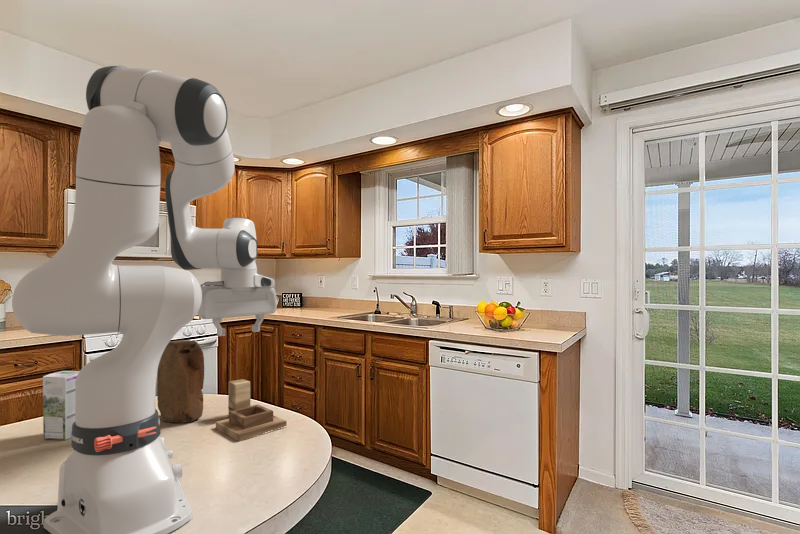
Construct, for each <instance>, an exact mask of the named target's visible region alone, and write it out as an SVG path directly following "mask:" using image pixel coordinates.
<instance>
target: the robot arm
mask: <svg viewBox="0 0 800 534" xmlns="http://www.w3.org/2000/svg"><path fill="white" fill-rule="evenodd" d="M85 100H86V106H87V109H88V111H87V113H86V114H85V116H84V118H83V121H82V125H81V129H80V134H79V139H78V146H77V152H76V163H75V198H74V199H75V200H74V212H73V220H72V225H71V229H70V231H69V234H68V236H67V238H66V239H65V242H64V243H63V244H62V246H61V247H60V248H59V249H58V251H56V252H55V254H54V255H53V256H52V257H50V258H49V259H48V260H46V262H44V263H42V264H41V265H39V266H37V267H35V268H33V269H32V270H31V271H29V272H27V273H26V274H25V275H24V276H23V277H22V278H21V279H20V280H19V281H18V283H17V285H16V286H15V287H14V290H13V293H12V299H11V308H12V311H13V315H14V317H15V319H16V320H17V321H18V323H19V324H20V325H21V326H22V327H23V328H24V329H25V330H26V331H28V332H30V333H31V334H40V335H50V336H51V335H52V336H61V337H62V336H63V337H64V336H65V337H72V336H74V337H75V336H82V335H84V336H85V335H96V334H97V335H98V334H112V333H119V334H122V337H121V340H120V341H119V344H118V345H116V347H114V348H113V349H112V350H109V351H107V352H105V353H104V354H101V355H100V356H97V357H95V358H94V359H92V360H91V361H89V362H88V363H86V364H85V365H84V366H83V367H82V368H81V369H80V370H79V371H80V372H79V373H78V375H77V377H76V381H75V422H74V423H73V425H72V432H71V438H70V439H71V448H72V451H71V453H70V454H69V455H68V457H67V458H66V459H65V460H64V461H63V462H62V463H61V464H60V466H59V472H58V473H59V474H58V492H57V496H58V497H57V510H55V511H53V512H52V513H51V514H48V516H46V517H45V518H44V519H43V526H42V527H43V529H45V530H46V531H47V532H49V533H50V534H170V533H171V532H174V531H176V530H177V529H179V528H181V527H182V526H184V525H185V524H187V522H189V521H190V520H191V519H192V518H193V511H192V507H191V505H190V503H189V500H188V499H187V496H186V493H185V492H184V489H183V487H182V485H181V482H180V480H179V479H181V478H182V477H183V466H182V463H180V462H178V463H175V464H171V462H170V459H172V458H173V450H172V449H170V450H169V449H168V450H167V448H166V445H165V438H164V437H162V436H160V435H161V433H162V432H161V420H160V419H161V418H160V417H159V410H158V409H156V396H157V395H156V393H157V391H156V390H157V377H158V366H159V362H160V359H161V356H162V354H163V352H164V350H165V348H166V346H167V345H168V343H169V342H170V341H172V339H173V338H174V337H175V336H176V335H177V334H178V332H180V331H181V330H182V328H184V327H185V326H186V325H188V324H189V323H190V322H192V321H193V320H194V318H195V317H196V316H198V317H199V318H200V319H201V320H212V324H213V325H214V327H215V329H216V335H217V337H224V336H226V333H227V332H226V331H227V329H226V328H224V327H222V325H221V323H222V319H224V318H225V319H227V318H237V317H239V318H240V317H249V316H255V319H256V321H255V323H254V324H252V325H251V332H253V333H256V332H257V333H258V332H259V333H260V331H261V325H262V323H263V321H264V320H265V315H273V314H275V312H277V309H278V308H277V307H278V304H277V303H278V302H277V301H278V300H277V291H276V289H275V288H273V287H275V280H274V278H272V277H271V278H270V277H267V276H265V275H262V274H258V267H257V266H258V265H257V264H256V263H257V262H256V259H257V258H258V240H257V231H256V226H255V223H254V221H252V220H251V219H249V218H246V217H242V216H241V217H239V216H238V217H237V216H233V217H228V218H225V220H224V221H223V224H222V228H201V227H197V226H196V225H194V224H193V221H192V212H191V202H193V201H195V200H198V199H200V198H204V197H206V196H207V197H208V196H210V195H213V194H215V193H218V192H219V191H221V190H222V189H224V188H225V187H226V186H227V185H229V183H230V182H231V181H232V178H233V176H234V174H235V157H234V152H233V148H232V147H233V146H232V144H231V139H230V136H229V132H228V129H227V125H228V119H229V118H228V116H229V115H228V107H227V104H226V101H225V98H224V97H223V96H222V94H221V93H220V91H219V90H218V89H217V88H216V87H215V85H213V84H211V83H208V82H207V81H204V80H201V79H199V78H193V77H192V78H188V77H185V76H180V75H176V74H173V73H168V72H163V71H161V70H160V69H159V70H157V69H151V68H144V67H143V68H141V67H126V66H123V65H111V66H110V65H109V66H103V67H100V68H97V69H96V70H94V72H93V73H92V74H91V76H90V78H89V80H88V82H87V85H86V89H85ZM161 142H165V143H169V145H170V148H171V151H172V152H171V153H172V154H173V159H174V168H173V169H172V170H170V171H169V172H168V173H167V174H166V178H165V184H164V195H165V204H166V212H167V220H168V225H169V235H170V254H171V258H172V261H173V262H174V263H175V264H176V265H177V266H178V268H177V267H170V266H165V265H117V264H113V262H114V260H115V259H116V257H117V256H118V255H120V254H121V253H122V252H124V251H126V250H128V249H131V248H133V247H136V246H138V245H139V246H140V245H141V244H143V243H145V242H146V241H148V240H150V239H151V238H152V237H153V236H154V235H155V234H156V233H157V231H158V229H159V222H160V201H161V181H162V180H161V179H162V177H161V176H162V174H161V155H160V147H159V146H160V144H161ZM201 269H215V270H217V269H220V280H214V281H204V282H203V283H202V284H200V282H199V279H197V277H196V276H195V275H194V273H192V272H191V271H194V270H201ZM190 270H191V271H190Z"/></svg>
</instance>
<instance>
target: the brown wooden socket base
mask: <svg viewBox="0 0 800 534" xmlns="http://www.w3.org/2000/svg"><path fill="white" fill-rule="evenodd" d="M287 425H288V424H287V420H285V419H283V418H281V417H278V416H275V415H274V410H272V409H270V408H269V407H266V406H264V405H263V406H262V405H260V404H253V405H250V406H249V407H245V408H241V409H237V410H233V411H228V418H225V419H222V420H218V421H215V429H217V430H218V431H220V432H222V433H223V432H224V434H225V433H226V434H225V435H227V436H229V437H231V438H232V437H233V439H234V440H236V441H238V442H243V441H245V439H246V440H249V439H252V438H255V437H254V436H256V437H258V436H257V435H259V436H261V435H260V434H262V435H264V434H263V433H265V432H268V431H271V430H275V429H278V428H281V427H284V426H287ZM251 437H252V438H251ZM248 438H249V439H248ZM242 440H243V441H242Z"/></svg>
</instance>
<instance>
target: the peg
mask: <svg viewBox="0 0 800 534" xmlns="http://www.w3.org/2000/svg"><path fill="white" fill-rule="evenodd" d="M227 393H228V396H227V397H228V400H227V401H228V407H227V409H228V412H229V411H233V410H237V409H241V408H245V407H249V406H251V381H250V380H247V379H245V378H244V379H243V378H242V379H237V380H230V381H228V392H227Z"/></svg>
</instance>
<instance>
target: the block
mask: <svg viewBox="0 0 800 534" xmlns="http://www.w3.org/2000/svg"><path fill="white" fill-rule="evenodd" d="M204 382H205V357H204V351H203V350H202V348H201V346H200V344H199V343H198V341H196V340H195V339H194V340H190V339H179V340H178V339H177V340H170V342H169V343H168V345H167V346H166V348H165V350H164V352H163V354H162V356H161V359H160V362H159V366H158V371H157V380H156V390H157V391H156V393H157V395H156V396H157V408H158V409H157V410H158V412H159V413H160V419H161V420H162V421H164V422H167V423H178V424H179V423H180V424H181V423H184V424H185V423H186V424H187V423H190V422H191V423H192V422H194V421H197V420H199V419H200V418H201V417H202V416H203V413H204V393H203V391H202V390H203V388H204Z"/></svg>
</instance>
